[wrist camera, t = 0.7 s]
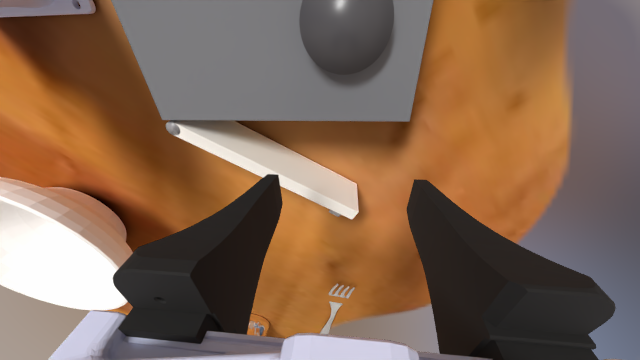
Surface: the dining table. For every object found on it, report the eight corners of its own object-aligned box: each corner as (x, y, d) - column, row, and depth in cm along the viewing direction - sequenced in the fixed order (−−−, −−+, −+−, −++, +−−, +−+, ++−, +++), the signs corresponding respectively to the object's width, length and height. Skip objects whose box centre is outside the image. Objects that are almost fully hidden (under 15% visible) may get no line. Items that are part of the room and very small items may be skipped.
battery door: (192, 122, 20) (163, 142, 17) (197, 101, 19) (166, 119, 16) (345, 197, 23) (345, 226, 20) (356, 183, 22) (358, 212, 19)
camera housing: (197, 101, 19) (154, 125, 15) (141, -75, 13) (44, -119, 9) (396, 100, 18) (412, 127, 13) (426, -97, 12) (472, -161, 8)
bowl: (134, 153, 23) (66, 197, 17) (187, 270, 34) (156, 319, 29) (-49, 134, 24) (-171, 170, 18) (61, 255, 35) (7, 300, 29)
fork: (311, 342, 46) (310, 353, 44) (334, 272, 32) (334, 284, 30) (327, 345, 46) (326, 356, 44) (357, 276, 32) (358, 288, 30)
